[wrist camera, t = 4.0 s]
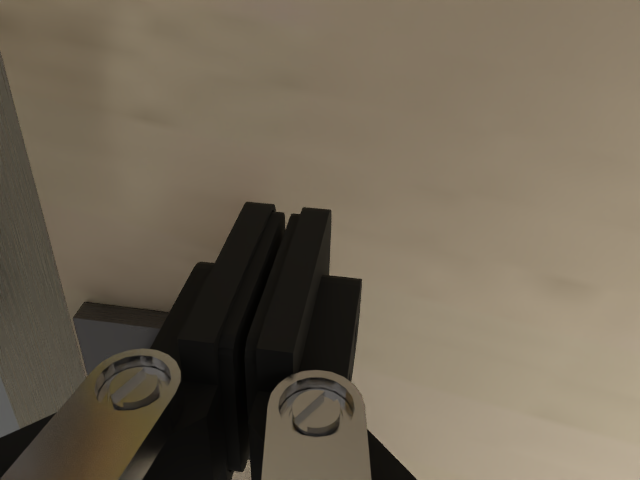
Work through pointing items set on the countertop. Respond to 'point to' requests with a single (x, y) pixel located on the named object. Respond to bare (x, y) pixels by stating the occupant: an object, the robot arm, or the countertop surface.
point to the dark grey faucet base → (114, 331)
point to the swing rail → (29, 292)
